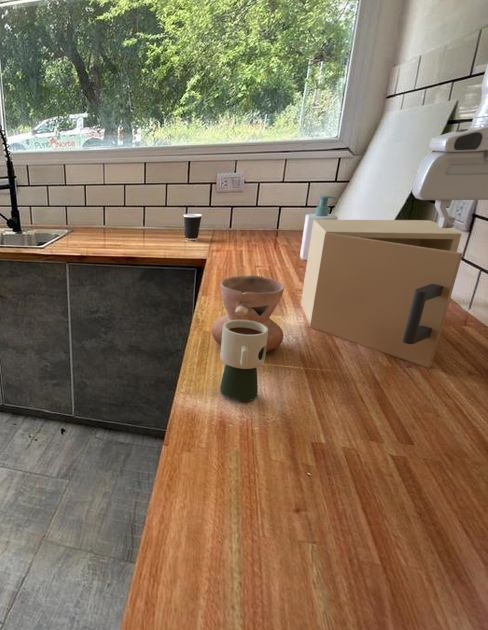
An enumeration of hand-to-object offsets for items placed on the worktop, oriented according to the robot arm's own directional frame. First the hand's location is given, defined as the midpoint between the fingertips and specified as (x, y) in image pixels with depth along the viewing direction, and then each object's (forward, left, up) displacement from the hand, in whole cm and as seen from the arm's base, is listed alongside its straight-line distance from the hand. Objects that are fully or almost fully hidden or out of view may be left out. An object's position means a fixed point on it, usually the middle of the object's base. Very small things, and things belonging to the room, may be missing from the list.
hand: (479, 228), depth 73 cm
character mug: (+35, +16, -27) cm, 47 cm away
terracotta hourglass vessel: (+33, -6, -27) cm, 43 cm away
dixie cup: (+52, -115, -27) cm, 129 cm away
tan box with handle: (+11, -9, -27) cm, 31 cm away
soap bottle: (+7, -87, -27) cm, 91 cm away
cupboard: (+6, -28, -27) cm, 39 cm away
